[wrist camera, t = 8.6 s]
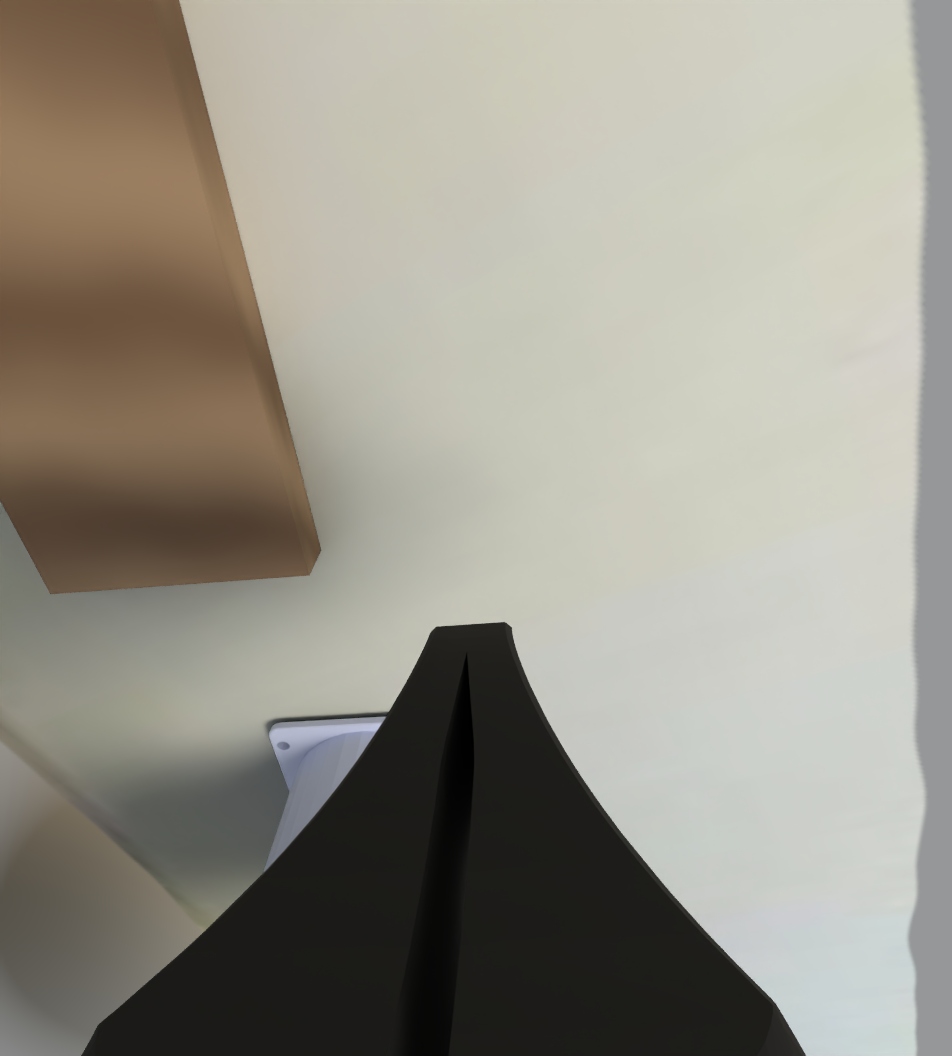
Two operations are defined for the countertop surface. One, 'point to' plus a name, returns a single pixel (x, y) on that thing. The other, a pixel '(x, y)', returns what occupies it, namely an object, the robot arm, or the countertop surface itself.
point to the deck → (131, 317)
